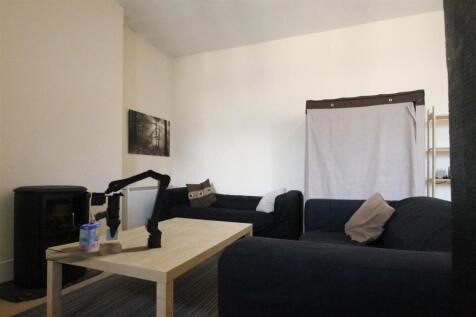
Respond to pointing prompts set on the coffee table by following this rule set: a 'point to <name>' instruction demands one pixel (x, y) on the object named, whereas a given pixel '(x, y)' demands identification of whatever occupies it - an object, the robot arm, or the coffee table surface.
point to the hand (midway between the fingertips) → (112, 236)
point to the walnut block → (110, 248)
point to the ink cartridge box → (89, 236)
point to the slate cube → (108, 235)
